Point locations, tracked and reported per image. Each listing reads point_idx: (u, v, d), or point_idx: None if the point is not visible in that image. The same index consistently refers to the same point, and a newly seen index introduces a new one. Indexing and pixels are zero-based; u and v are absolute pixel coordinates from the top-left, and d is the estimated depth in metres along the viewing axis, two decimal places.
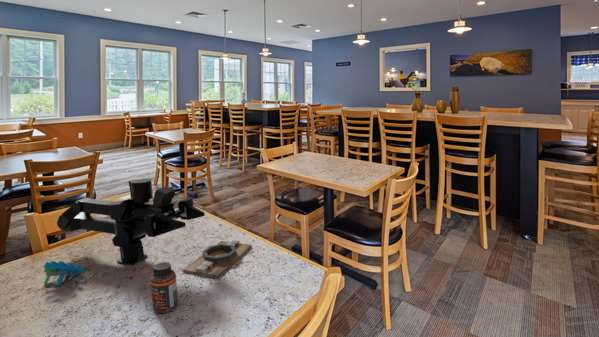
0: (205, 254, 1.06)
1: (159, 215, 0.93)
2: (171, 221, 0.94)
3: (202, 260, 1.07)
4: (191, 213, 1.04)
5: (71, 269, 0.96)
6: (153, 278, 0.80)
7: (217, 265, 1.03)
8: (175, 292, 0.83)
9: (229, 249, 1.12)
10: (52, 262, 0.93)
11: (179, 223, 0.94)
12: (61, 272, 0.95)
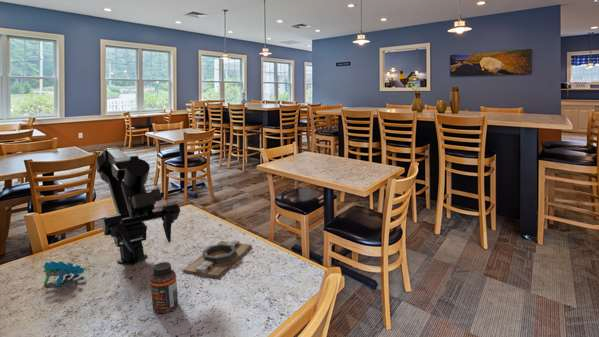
0: (205, 254, 1.06)
1: (117, 225, 0.84)
2: (124, 238, 0.85)
3: (202, 260, 1.07)
4: (165, 226, 0.93)
5: (71, 269, 0.96)
6: (153, 278, 0.80)
7: (217, 265, 1.03)
8: (175, 292, 0.83)
9: (229, 249, 1.12)
10: (51, 262, 0.92)
11: (128, 246, 0.85)
12: (61, 272, 0.95)
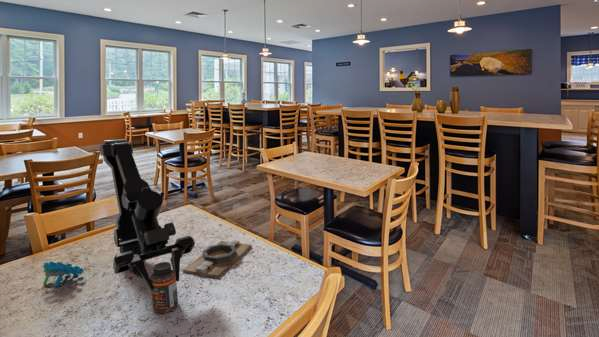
0: (205, 254, 1.06)
1: (136, 263, 0.79)
2: (143, 276, 0.80)
3: (202, 260, 1.07)
4: (173, 263, 0.86)
5: (70, 270, 0.96)
6: (153, 278, 0.80)
7: (217, 265, 1.03)
8: (175, 292, 0.83)
9: (229, 249, 1.12)
10: (50, 263, 0.92)
11: (148, 284, 0.80)
12: (60, 273, 0.95)
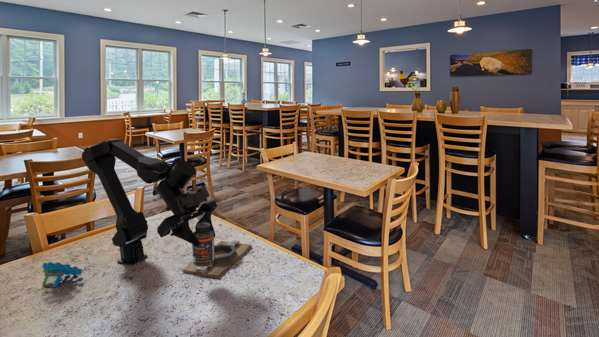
0: None
1: (183, 223, 0.88)
2: (190, 234, 0.90)
3: None
4: None
5: (69, 270, 0.96)
6: (199, 236, 0.91)
7: (217, 265, 1.03)
8: None
9: (229, 249, 1.12)
10: (49, 263, 0.92)
11: (195, 241, 0.90)
12: (58, 273, 0.95)
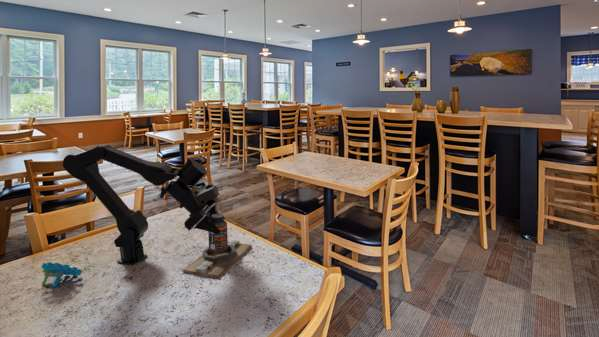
0: (205, 254, 1.06)
1: (207, 215, 1.01)
2: (212, 224, 1.03)
3: (202, 260, 1.07)
4: None
5: (68, 271, 0.96)
6: (218, 225, 1.05)
7: (217, 265, 1.03)
8: None
9: (229, 249, 1.12)
10: (48, 263, 0.92)
11: (216, 229, 1.04)
12: (58, 273, 0.94)
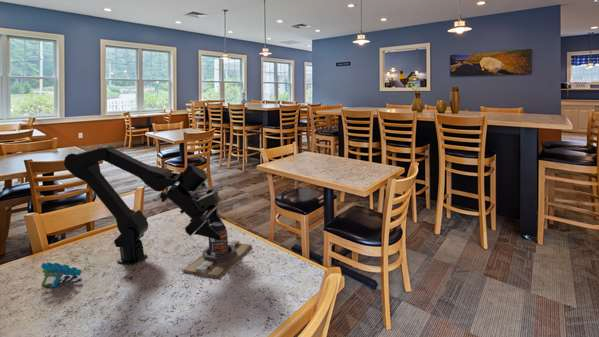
0: (205, 254, 1.06)
1: (207, 221, 1.01)
2: (212, 230, 1.02)
3: (202, 260, 1.07)
4: (213, 220, 1.11)
5: (67, 271, 0.95)
6: (218, 233, 1.05)
7: (217, 265, 1.03)
8: None
9: (229, 249, 1.12)
10: (48, 263, 0.92)
11: (216, 235, 1.03)
12: (57, 274, 0.94)
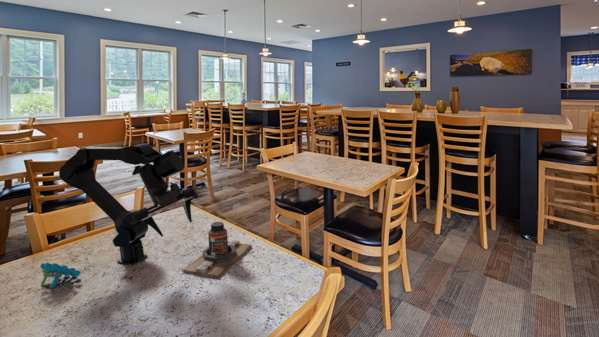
0: (205, 254, 1.06)
1: (146, 220, 0.97)
2: (153, 227, 0.99)
3: (202, 260, 1.07)
4: (184, 208, 1.06)
5: (66, 271, 0.95)
6: (218, 233, 1.05)
7: (217, 265, 1.03)
8: None
9: (229, 249, 1.12)
10: (46, 264, 0.92)
11: (158, 233, 1.00)
12: (56, 274, 0.94)
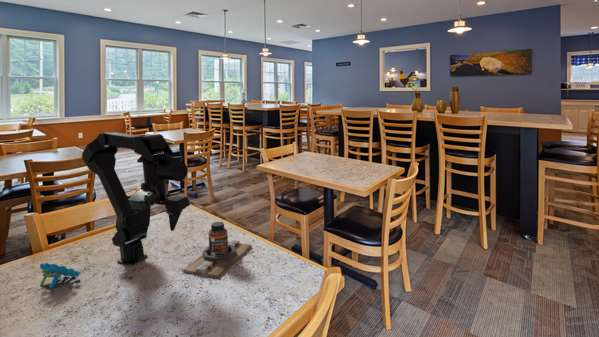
0: (205, 254, 1.06)
1: (132, 208, 0.99)
2: None
3: (202, 260, 1.07)
4: None
5: (65, 272, 0.95)
6: (218, 233, 1.05)
7: (217, 265, 1.03)
8: None
9: (229, 249, 1.12)
10: (45, 264, 0.91)
11: None
12: (55, 274, 0.94)
